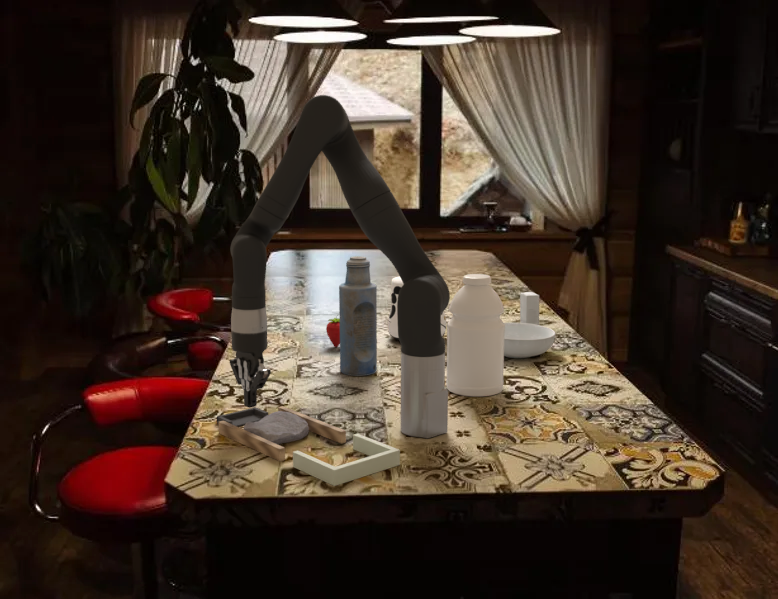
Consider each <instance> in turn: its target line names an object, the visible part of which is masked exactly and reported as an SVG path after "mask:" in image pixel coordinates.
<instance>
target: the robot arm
mask: <svg viewBox="0 0 778 599" xmlns="http://www.w3.org/2000/svg"><path fill="white" fill-rule="evenodd" d="M321 153H322V154H323V155H324V156H325V158H326V160H327V161H328V162H329V163H330V165H331V167H332V169H333V171H334V173H335V175H336V178H337V180H338V184H339V186H340V189H341V192H342V193H343V194H342V195H343V196H344V198H345V201H346V203H347V205H348V208H349V210H350V211H351V213H352V215H353V217H354V219H355V220H356V222H357V224H358V226H359V227H360V229H361V231H362V232H363V234H364V235H365V236H366V238H368V240H369V241H370V242H371V243H372V244H373V245H374V246H375V247H376V248H377V249H378V250H379V251H380V252H381V253H382V254H383V255H384V256H386V258H387V259H388V260H389V261H390V263H391V264H392V265H393V267H394V268H395V271H396V272H397V273H398V277H399V276H400V278H401V280H402V282H403V284H404V285H403V286H402V287H401V289H400V291H399V294H398V301H397V319H398V337H399V340H398V341H399V342H400V431H401V433H402V434H403V435H407V436H409V437H415V438H424V439H430V438H433V437H436V436H440V435H442V434H443V435H444V434H446V433H448V424H449V423H448V422H449V421H448V417H449V415H448V414H449V411H448V410H449V390H448V389H447V387H446V388H445V384H446V379H445V377H446V372H445V371H446V341H445V338H444V336H443V337H442V335H441V313H442V312H443V311H444V312H445V310H446V309H448V308H447V307H448V305H449V303H450V298H451V297H450V294H451V293H450V290H449V286H448V284H447V282H446V281H445V279H444V278H443V276H442V275H441V273H440V272H439V270H438V269H437V268H436V267H435V265H434V264H433V262H432V261H431V259H430V258H429V256H428V255H427V254H426V252H425V250H424V249H423V247H422V246H421V244H420V242H419V240H418V238H417V237H416V235H415V233H414V231H413V229H412V227H411V225H410V223H409V221H408V220H407V218H406V216H405V215H404V213H403V211H402V208H401V207H400V205H399V203H398V201H397V198H395V196H394V194H393V192H392V191H391V189H390V187H389V185H388V184H387V183H386V180H384V178H383V176H382V175H381V174H380V173H379V171H378V169H377V168H376V167H375V166H374V165H373V163H372V162H371V160H370V159H369V158H368V156H367V155H366V153H365V152H364V150H363V148H362V147H361V145H360V142H359V140H358V138H357V136H356V133H355V132H354V129H353V127H352V124H351V122H350V119H349V116H348V114H347V111H346V109H345V108H344V106H343V105H342V104H341V102H340V101H339V100H338V99H337V98H335V97H333V96H331V95H328V94H319V95H316V96H313V97H311V98H310V99H309V100H308V101H307V102H306V103H305V104H304V106H303V108H302V110H301V114H300V116H299V119H298V121H297V124H296V127H295V129H294V133H293V135H292V137H291V139H290V141H289V144H288V145H287V148H286V150H285V152H284V155H283V156H282V158H281V159H280V162H279V164H278V165H277V167H276V169H275V171H274V172H273V174H272V175H271V177H270V179H269V180H268V182H267V183H266V186H265V188H264V189H263V191H262V193H261V194H260V196H259V197H258V199H257V201H256V202H255V204H254V207H253V209H252V211H251V213H250V214H249V216H248V217H247V219H246V220H245V221H244V222H243V224H242V225H241V227H240V228H239V229H238V230H237V232H236V234H235V236H234V237H233V239H232V241H231V244H230V249H229V250H230V255H231V257H232V269H233V270H232V272H233V283H232V286H231V309H232V310H231V314H230V317H231V318H230V322H231V323H230V324H231V325H230V327H231V328H230V329H231V330H230V331H231V332H230V333H231V350H233V351H234V352H235V358H233V359H229V365H230V368H231V370H232V373H233V375H234V378H235V380H236V383H237V385H239V386H241V389H242V390H243V401H244V402H243V404H244V405H243V406H244V407H247V408H248V409H250V408H254V407H256V406H257V403H258V398H257V395H258V393H257V391H258V390H261V389H264V386H265V385H266V383H267V382H268V379H269V377H270V376H271V374H272V370H271V369H270V368H266V367H265V365H264V363H265V359H264V356H263V353H264V352H265V351H266V350H267V349H268V314H267V307H266V306H267V305H266V304H267V302H266V301H267V300H266V299H267V298H266V285H265V284H266V283H265V282H266V276H267V274H266V273H267V257H268V256H267V246H268V245H269V243H270V242H271V240H272V238H273V236H274V235H275V233H276V232H278V231H279V230H280V229H281V228H282V226H283V225H284V224H285V222H286V220H287V219H288V217H289V215H290V214H291V212H292V210H293V208H294V207H295V205H296V203H297V201H298V199H299V197H300V194H301V192H302V190H303V188H304V185H305V182H306V181H307V178H308V175H309V173H310V171H311V169H312V167H313V165H314V163H315V162H316V161H317V158H318V156H319V155H321Z"/></svg>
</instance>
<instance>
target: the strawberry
mask: <svg viewBox="0 0 778 599" xmlns="http://www.w3.org/2000/svg"><path fill="white" fill-rule="evenodd" d="M338 316H339V314H337V315H336V316H335V317H334V318H330V319H328V320H327V321H328V323H327V325H326V328H325V330H326V335H327V337H328V339H329V341H330V342H331V344H332V345H333V347H334V348H338V347H340V318H337V317H338Z"/></svg>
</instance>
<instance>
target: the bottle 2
mask: <svg viewBox="0 0 778 599" xmlns="http://www.w3.org/2000/svg"><path fill="white" fill-rule="evenodd" d="M462 283H463V284H464V285H463V286H461V287H460V288H459V290H457V291H456V293H455V294H454V296H453V297H452V299H451V301H450V304H449V307H448V311H449V312H450V313H451V314H452V317H451V318H450V320H448V322H446V379H445V384H446V389H448V392H451V393H453V394H456V395H459V396H463V397H488V396H489V397H491V396H494V395H497V394H500V393H502V391H503V388H504V382H505V381H504V367H505V366H504V365H505V364H504V363H505V356H504V337H505V323H506V322H504V321H503V320H502V318H501V316H502V315H503V313H504V312H505V307H504V304H503V301H502V300H501V298H500V296H499V294H498V293H497V292H496V291H495V289H494V288H493V287H492V286H491V284H492V277H491V276H490V274H489V275H488V274H485V273H484V274H483V273H471V274H470V273H468V274H465V275H463V277H462Z"/></svg>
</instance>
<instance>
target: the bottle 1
mask: <svg viewBox="0 0 778 599" xmlns="http://www.w3.org/2000/svg"><path fill="white" fill-rule="evenodd" d="M370 266H371V264H370V261H369V259H367V257H365V256H359V255H358V256H357V255H355V256H350V257H349V259H348V260H347V261H346V273H345V280H344V282H343V283H341V284H339V287H338V296H339V298H338V300H339V313H338V315H339V319H340V344H339V361H340V362H339V368H340V370H339V371H340V372H341V373H342V374H344V375H347V376H353V377H354V376H355V377H357V376H358V377H360V376H362V377H363V376H370V375H372V374H375V373H377V370H378V365H377V364H378V362H377V361H378V359H377V358H378V357H377V356H378V349H377V348H378V347H377V345H378V337H377V332H378V331H377V329H378V328H377V324H378V320H377V319H378V318H377V312H378V311H377V310H378V309H377V304H378V303H377V302H378V301H377V299H378V298H377V297H378V296H377V295H378V292H377V288H378V286H377V285H376V283H373V282H372V281H371V280H372V279H371V271H370V268H371V267H370Z"/></svg>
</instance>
